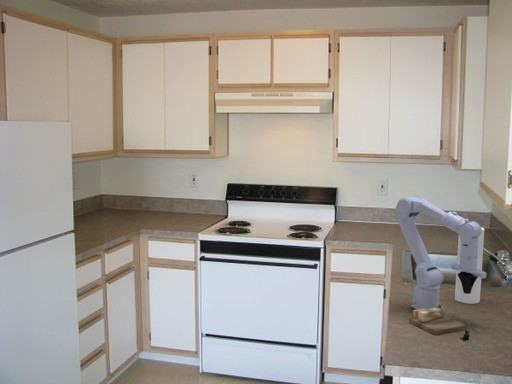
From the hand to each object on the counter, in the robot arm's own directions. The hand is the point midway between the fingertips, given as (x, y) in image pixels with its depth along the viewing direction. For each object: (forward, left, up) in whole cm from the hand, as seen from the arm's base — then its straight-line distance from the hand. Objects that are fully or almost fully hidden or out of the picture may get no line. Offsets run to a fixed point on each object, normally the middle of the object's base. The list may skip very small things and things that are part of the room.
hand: (467, 293), depth 197 cm
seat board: (-1, -13, -10) cm, 16 cm away
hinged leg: (-4, -13, -9) cm, 16 cm away
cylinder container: (-17, +19, -11) cm, 28 cm away
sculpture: (+12, -13, -11) cm, 21 cm away
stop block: (-6, -16, -9) cm, 19 cm away
